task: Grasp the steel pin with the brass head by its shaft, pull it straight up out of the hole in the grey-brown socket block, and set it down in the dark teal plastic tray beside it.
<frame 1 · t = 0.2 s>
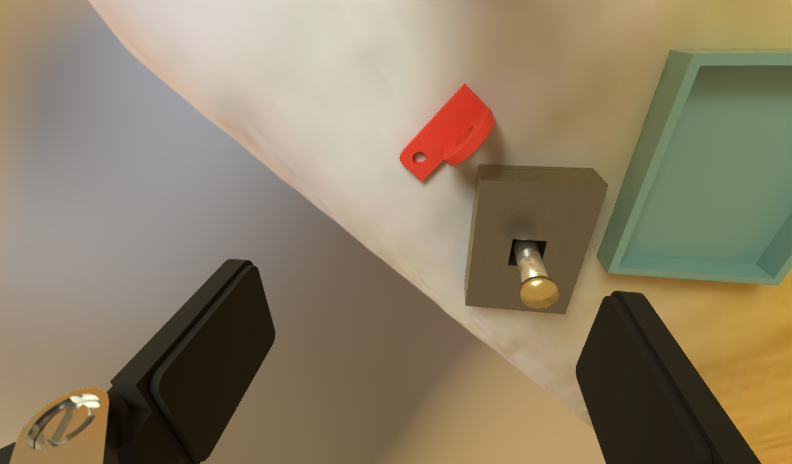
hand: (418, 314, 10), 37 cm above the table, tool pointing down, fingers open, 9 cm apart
grey-brown socket block: (520, 233, 49), on the table
bracket: (441, 134, 43), on the table
pin: (528, 260, 43), in the grey-brown socket block
tray: (718, 172, 41), on the table
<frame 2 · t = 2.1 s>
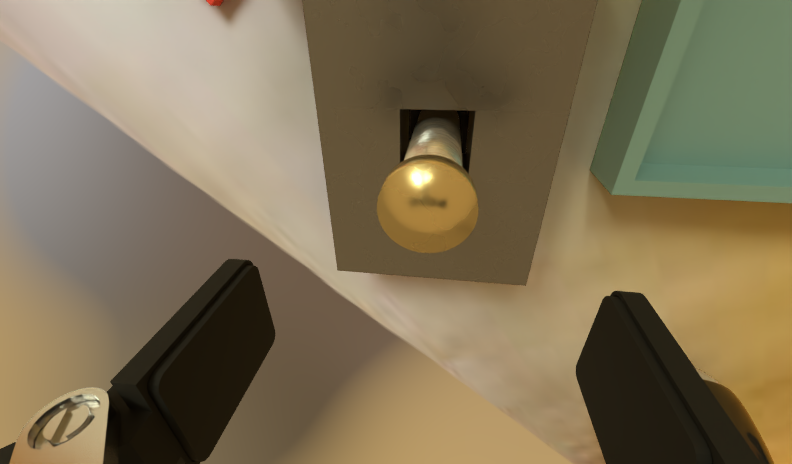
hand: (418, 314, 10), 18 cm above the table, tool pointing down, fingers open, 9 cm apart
grey-brown socket block: (438, 123, 24), on the table
pump dispenser: (650, 376, 35), on the table
pin: (434, 155, 19), in the grey-brown socket block
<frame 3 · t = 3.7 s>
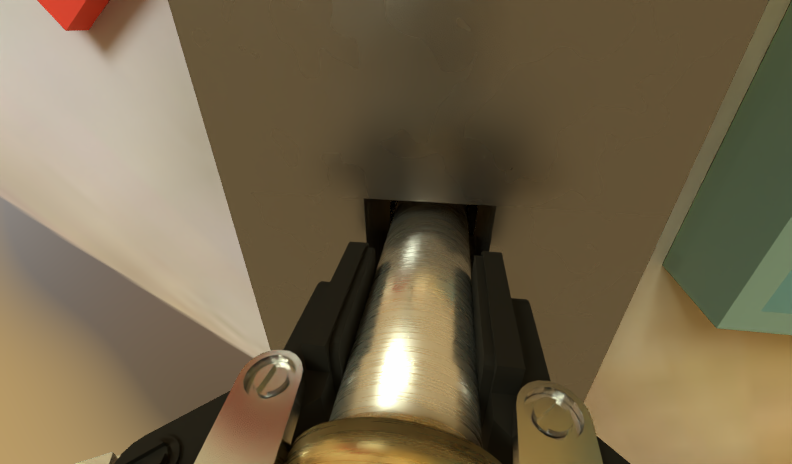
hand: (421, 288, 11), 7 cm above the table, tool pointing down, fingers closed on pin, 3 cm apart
grey-brown socket block: (433, 195, 16), on the table
pin: (422, 283, 11), in the grey-brown socket block, touching gripper
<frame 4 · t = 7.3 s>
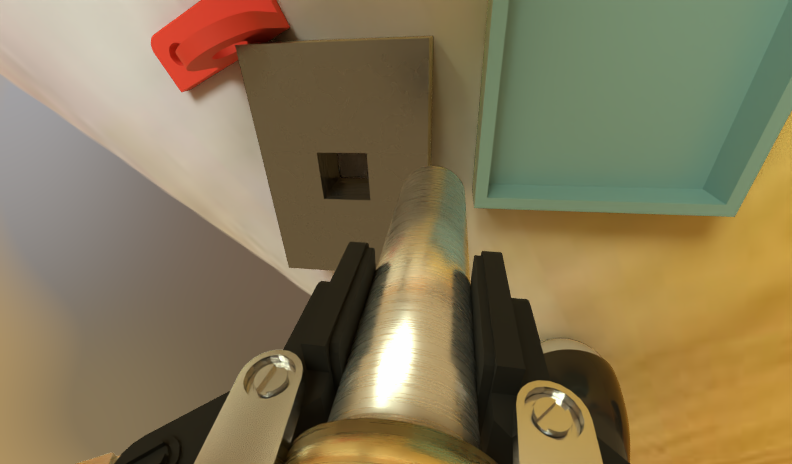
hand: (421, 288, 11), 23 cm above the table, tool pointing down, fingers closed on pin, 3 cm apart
grey-brown socket block: (358, 157, 33), on the table
bracket: (221, 34, 30), on the table
pump dispenser: (556, 353, 43), on the table
pin: (421, 284, 11), point 23 cm above the table, touching gripper
tray: (626, 28, 25), on the table
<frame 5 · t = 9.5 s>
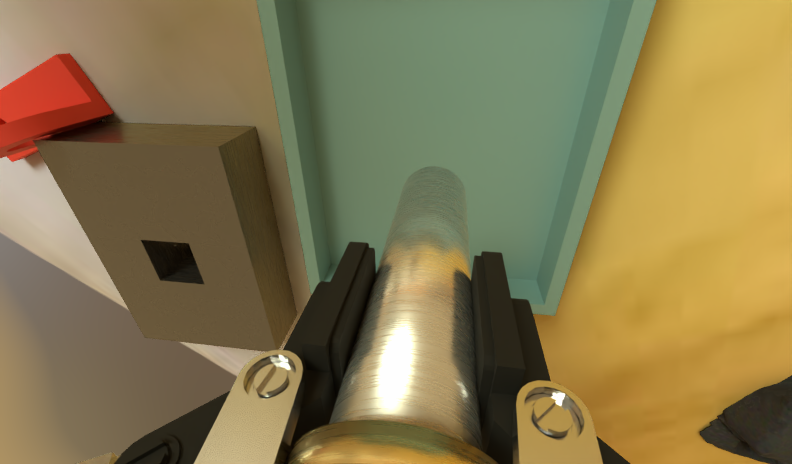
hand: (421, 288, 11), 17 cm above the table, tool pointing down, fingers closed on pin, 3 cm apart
grey-brown socket block: (209, 231, 33), on the table
bracket: (48, 110, 29), on the table
pin: (422, 285, 11), point 17 cm above the table, touching gripper
tray: (437, 131, 25), on the table
when the fingers open (9 cm above the table, at t = 11.2 s): pin stays where it is, resting on tray.
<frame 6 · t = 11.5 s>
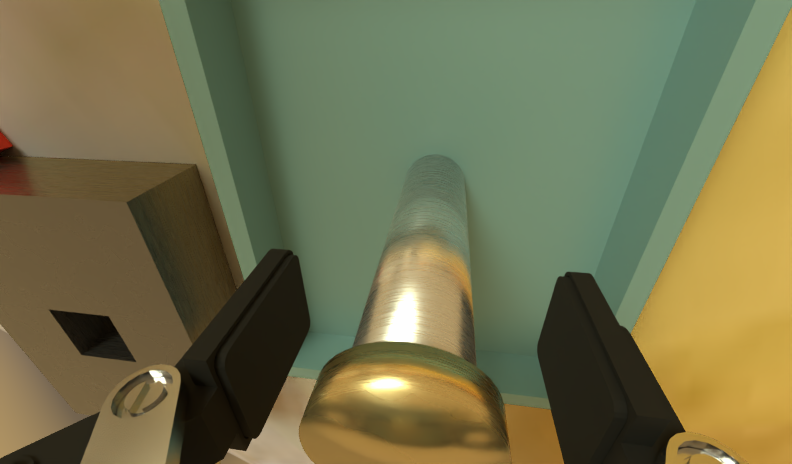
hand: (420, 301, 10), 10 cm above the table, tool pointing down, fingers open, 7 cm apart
grey-brown socket block: (152, 286, 26), on the table
pin: (425, 257, 12), in the tray, point 8 cm above the table
tray: (435, 175, 18), on the table
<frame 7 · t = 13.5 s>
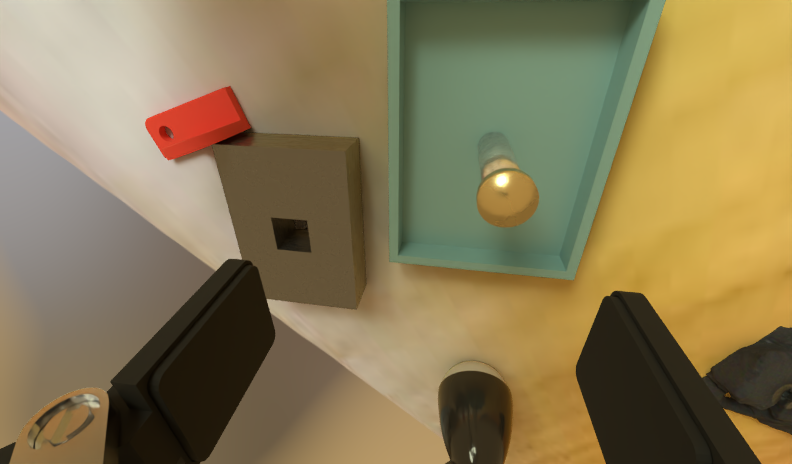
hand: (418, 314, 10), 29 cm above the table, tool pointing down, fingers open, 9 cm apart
grey-brown socket block: (308, 215, 43), on the table
bracket: (200, 122, 40), on the table
pump dispenser: (472, 372, 52), on the table
pin: (498, 168, 29), in the tray, point 8 cm above the table
tray: (492, 144, 35), on the table
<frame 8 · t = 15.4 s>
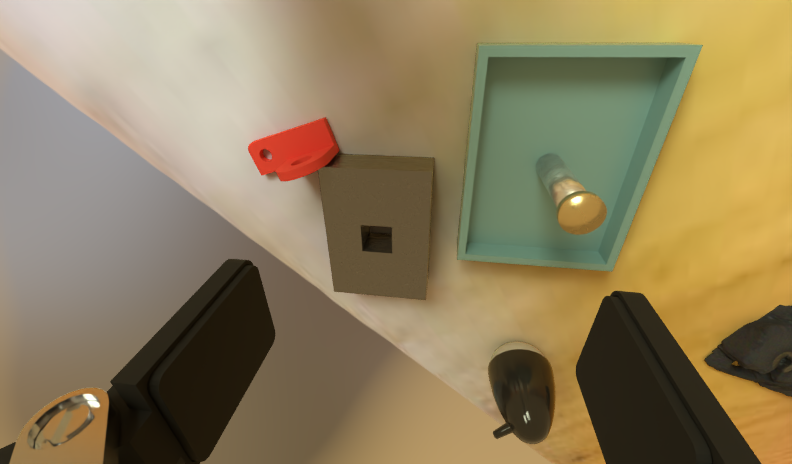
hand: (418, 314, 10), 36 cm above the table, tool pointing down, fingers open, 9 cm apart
grey-brown socket block: (383, 221, 51), on the table
bracket: (294, 145, 47), on the table
pump dispenser: (515, 351, 61), on the table
pin: (563, 186, 36), in the tray, point 8 cm above the table
tray: (547, 162, 43), on the table
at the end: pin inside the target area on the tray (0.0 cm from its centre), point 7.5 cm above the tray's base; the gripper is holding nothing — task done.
